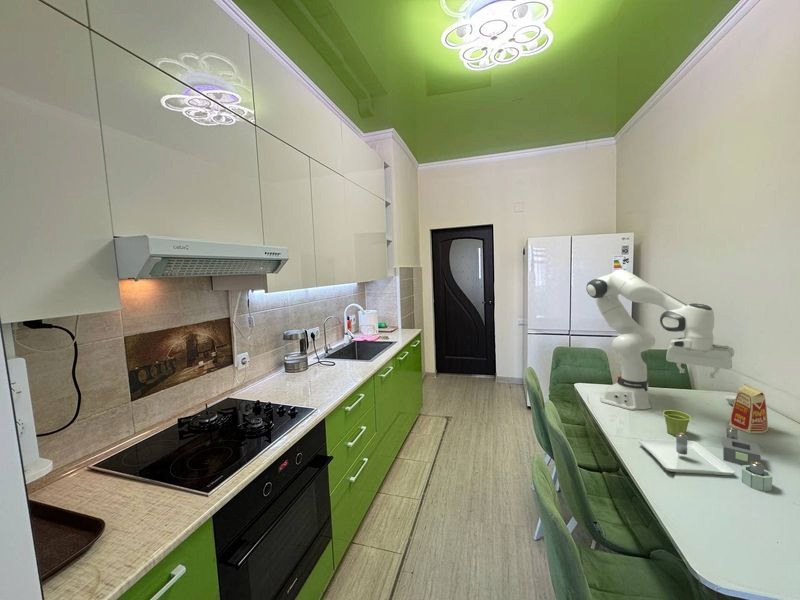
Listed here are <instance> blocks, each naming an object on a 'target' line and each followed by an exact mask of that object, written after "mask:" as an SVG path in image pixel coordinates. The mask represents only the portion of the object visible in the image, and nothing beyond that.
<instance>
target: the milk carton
mask: <svg viewBox="0 0 800 600" xmlns="http://www.w3.org/2000/svg"><path fill="white" fill-rule="evenodd" d="M742 383H743V386H741V387H740V388H738V390H737V393H736V394H735V396H736V398H735V401H734V405H732V409H731V412H730V417H729V423H728V425H729V426H731V427H732V428H734V429H737V430H739V431H743V432H746V433H749V434H765V433H766V432H768V430H769V427H768V426H769V424H768V421H769V420H768V409H767V403H766V402H767V401H766V395H765V394H764V393H765V392H766V391H765V390H761V389H759V388H757V387H754V386H752V385H751V384H749V383H746V382H742Z"/></svg>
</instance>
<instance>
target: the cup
mask: <svg viewBox="0 0 800 600" xmlns="http://www.w3.org/2000/svg"><path fill="white" fill-rule="evenodd" d="M741 483H743V484H744V485H746V486H748V487H749V488H751V489H754V490H758V491H761V492H771V491H773V473H771V471H768V470H767V469H765V468H764V476H760V475H756V474H753V473H751V472H750V465H741Z"/></svg>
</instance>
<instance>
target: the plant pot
mask: <svg viewBox="0 0 800 600" xmlns="http://www.w3.org/2000/svg"><path fill="white" fill-rule="evenodd" d="M662 415H663V416H664V420H665V425H666V432H667V433H668V434H669V435H672V436H675V437H676V433H680V432H681V433H684V434H686V435H687V430H688V427H689V426H688V425H689V423H690V420H691V419H692V417H691V415H690V414H687V413H685V412H682V411H678V410H673V409H667V410H663V411H662Z"/></svg>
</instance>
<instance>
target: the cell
mask: <svg viewBox="0 0 800 600" xmlns="http://www.w3.org/2000/svg"><path fill="white" fill-rule="evenodd" d="M675 440H676V452H677V453H679V455H684V456H685V455H686V456H687V455H688V448H687V441H688V434H687V433H686V434H684V433H681V432H680V433H676V436H675Z"/></svg>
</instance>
